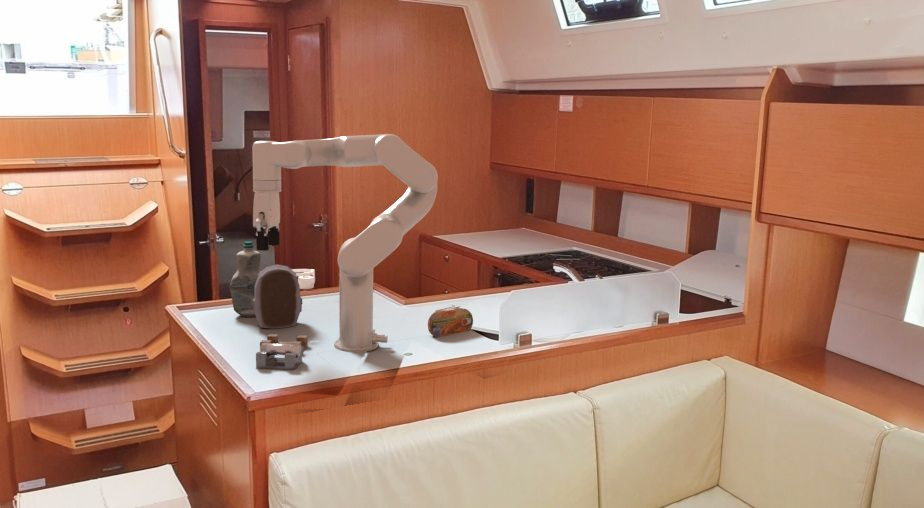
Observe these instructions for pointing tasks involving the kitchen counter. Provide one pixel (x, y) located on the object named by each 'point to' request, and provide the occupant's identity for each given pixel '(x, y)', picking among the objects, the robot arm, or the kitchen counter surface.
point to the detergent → (245, 280)
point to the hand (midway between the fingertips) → (268, 247)
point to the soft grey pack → (277, 297)
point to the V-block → (278, 361)
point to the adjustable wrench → (448, 308)
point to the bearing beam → (274, 339)
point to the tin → (450, 322)
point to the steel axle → (280, 349)
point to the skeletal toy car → (305, 278)
